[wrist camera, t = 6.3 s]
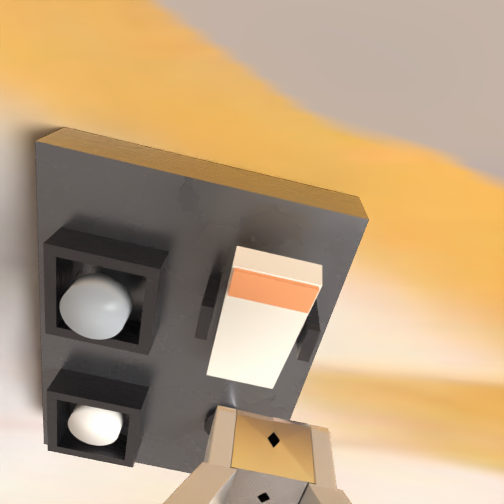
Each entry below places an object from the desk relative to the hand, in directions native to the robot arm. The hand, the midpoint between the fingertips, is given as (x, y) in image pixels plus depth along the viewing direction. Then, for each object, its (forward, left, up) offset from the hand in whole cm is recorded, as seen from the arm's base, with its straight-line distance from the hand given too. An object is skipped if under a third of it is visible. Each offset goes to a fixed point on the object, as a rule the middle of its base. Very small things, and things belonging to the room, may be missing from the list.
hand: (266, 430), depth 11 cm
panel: (-9, +4, -14) cm, 17 cm away
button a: (-15, +8, -11) cm, 20 cm away
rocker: (-3, 0, -11) cm, 11 cm away
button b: (-5, +8, -10) cm, 13 cm away
